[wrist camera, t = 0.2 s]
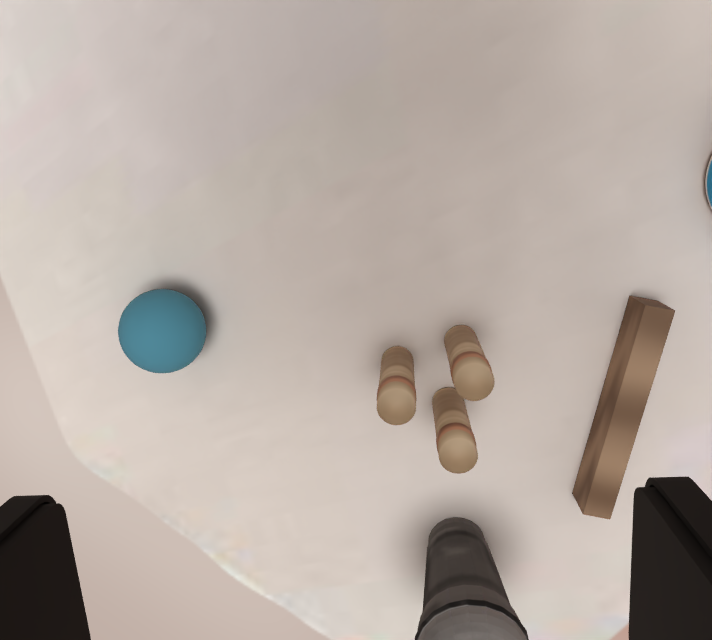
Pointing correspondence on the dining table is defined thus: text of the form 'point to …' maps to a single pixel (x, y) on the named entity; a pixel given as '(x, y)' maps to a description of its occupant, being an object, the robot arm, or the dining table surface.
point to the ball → (162, 331)
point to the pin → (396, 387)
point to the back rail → (621, 405)
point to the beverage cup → (464, 588)
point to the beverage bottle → (709, 183)
